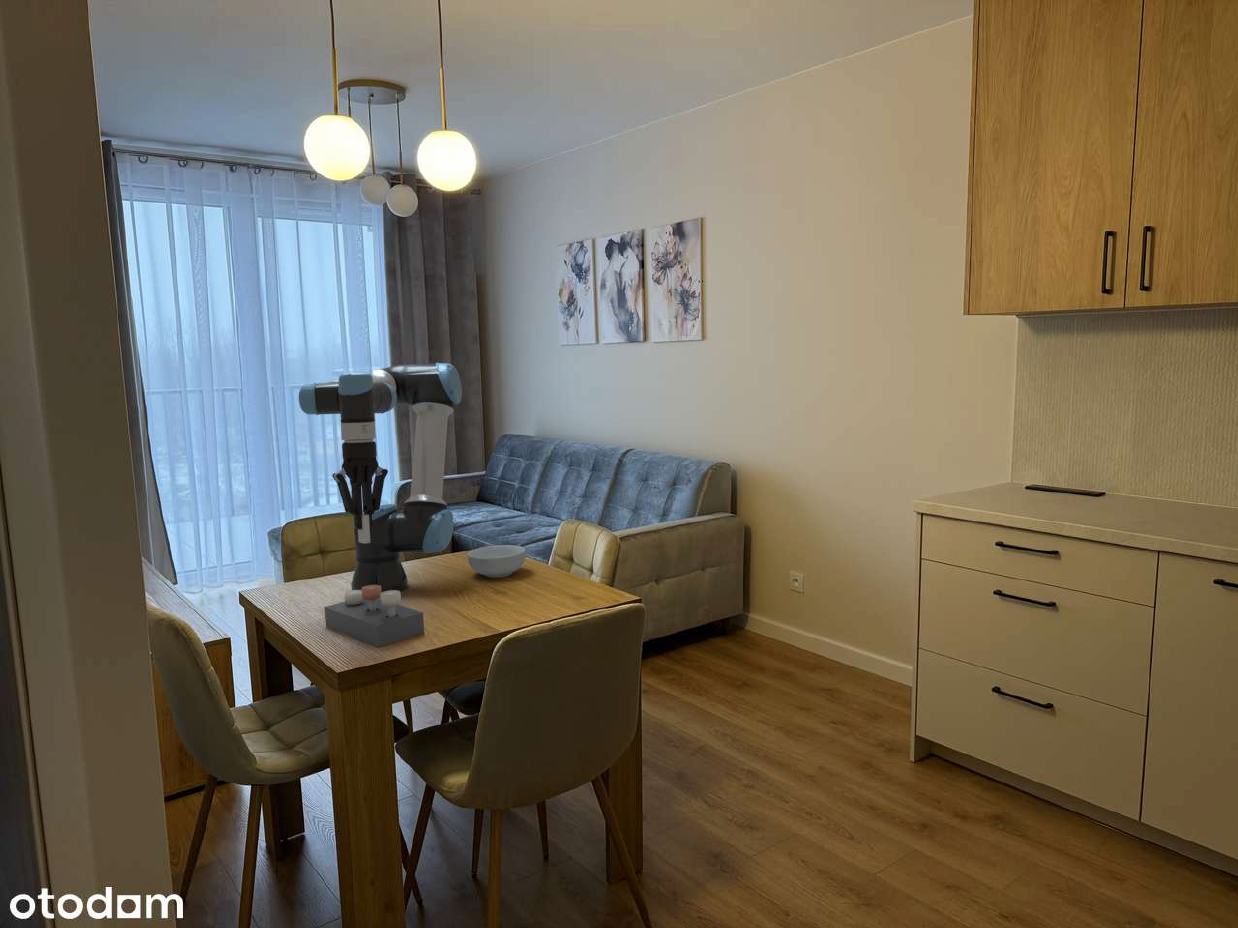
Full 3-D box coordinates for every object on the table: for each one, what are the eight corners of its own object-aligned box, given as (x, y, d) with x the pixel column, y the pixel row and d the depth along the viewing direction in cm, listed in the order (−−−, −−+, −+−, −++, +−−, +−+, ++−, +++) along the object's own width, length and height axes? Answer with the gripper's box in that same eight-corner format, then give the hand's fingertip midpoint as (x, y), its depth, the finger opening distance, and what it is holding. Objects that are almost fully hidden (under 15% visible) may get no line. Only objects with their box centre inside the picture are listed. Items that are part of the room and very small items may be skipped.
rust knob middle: (376, 613, 196) (374, 583, 195) (386, 617, 193) (384, 586, 192) (360, 618, 193) (357, 587, 192) (370, 621, 190) (368, 590, 189)
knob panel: (370, 614, 206) (369, 595, 205) (424, 633, 190) (422, 612, 190) (325, 627, 197) (324, 606, 196) (378, 647, 181) (377, 625, 181)
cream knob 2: (395, 620, 191) (393, 589, 190) (406, 623, 188) (404, 592, 187) (378, 624, 188) (376, 593, 187) (389, 628, 185) (387, 596, 184)
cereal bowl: (500, 564, 254) (499, 542, 253) (538, 572, 243) (537, 548, 242) (456, 576, 241) (455, 552, 240) (495, 585, 230) (494, 560, 229)
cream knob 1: (359, 618, 202) (357, 588, 201) (369, 621, 199) (367, 591, 198) (343, 622, 199) (340, 592, 198) (352, 626, 196) (350, 596, 195)
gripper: (339, 443, 181) (345, 548, 183) (392, 439, 190) (397, 540, 192) (324, 442, 186) (330, 544, 188) (376, 438, 195) (381, 536, 197)
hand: (364, 542), depth 190 cm, fingers closed
